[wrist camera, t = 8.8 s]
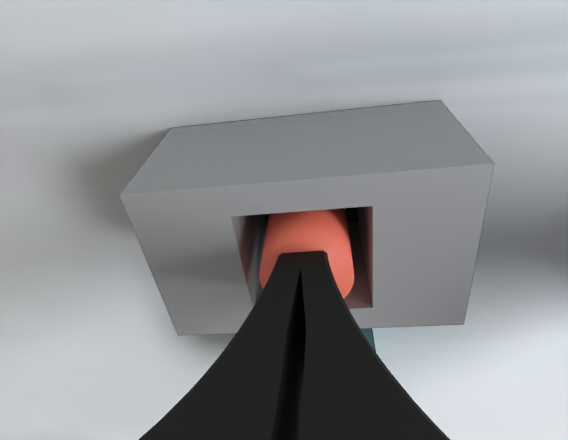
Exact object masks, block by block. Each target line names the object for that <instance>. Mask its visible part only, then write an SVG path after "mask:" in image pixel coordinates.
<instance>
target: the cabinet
mask: <svg viewBox="0 0 568 440" xmlns="http://www.w3.org/2000/svg"><path fill="white" fill-rule="evenodd" d="M493 167H494V163H493V161H492V160H491V159H490V158H489V157H488V155H487V154H486V153H485V152H484V151H483V150H482V148H481V147H480V146H479V145H478V144H477V142H476V141H475V140H474V139H473V138H472V137H471V135H470V134H469V133H468V132H467V131H466V129H465V128H464V127H463V126H462V125H461V123H460V122H459V121H458V120H457V119H456V118H455V116H454V115H453V114H452V113H451V112H450V110H449V109H448V108H447V107H446V106H445V105H444V103H443V102H442V101H441V100H437V101H427V102H417V103H408V104H398V105H388V106H379V107H369V108H359V109H350V110H340V111H330V112H321V113H311V114H302V115H292V116H282V117H273V118H263V119H253V120H244V121H234V122H224V123H215V124H205V125H195V126H186V127H176V128H171V129H170V130H169V131H168V133H167V134H166V135H165V136H164V138H163V139H162V140H161V142H160V143H159V144H158V145H157V147H156V148H155V149H154V151H153V152H152V153H151V155H150V156H149V157H148V158H147V160H146V161H145V162H144V164H143V165H142V166H141V167H140V169H139V170H138V171H137V173H136V174H135V175H134V176H133V178H132V179H131V180H130V182H129V183H128V184H127V185H126V187H125V188H124V189H123V191H122V192H121V193H120V194H119V196H120V198H121V201H122V203H123V205H124V208H125V210H126V213H127V215H128V217H129V220H130V222H131V225H132V227H133V229H134V232H135V234H136V237H137V239H138V241H139V244H140V246H141V248H142V251H143V253H144V256H145V258H146V260H147V263H148V265H149V268H150V270H151V272H152V275H153V277H154V280H155V282H156V284H157V287H158V289H159V291H160V294H161V296H162V299H163V301H164V303H165V306H166V308H167V311H168V313H169V315H170V318H171V320H172V323H173V325H174V327H175V330H176V332H177V334H178V336H179V335H205V334H231V333H237V332H238V330H239V329H240V327H241V326H242V324H243V322H244V321H245V319H246V318H247V316H248V315H249V313H250V311H251V310H252V308H253V307H254V305H255V303H256V301H257V299H258V298H259V296H260V294H261V292H262V290H263V288H262V286H261V282H260V277H259V276H260V267H261V260H262V254H263V248H264V242H265V235H266V229H267V223H266V218H265V214H272V213H286V212H299V211H312V210H326V209H339V208H353V207H358V222H347V223H348V231H349V238H350V246H351V254H352V261H353V269H354V283H353V286H352V289H351V290H350V292H349V294H348V295H347V296H346V297H345V298H344V301H345V303H346V305H347V307H348V308H349V310H350V312H351V314H352V316H353V318H354V319H355V321H356V323H357V324H358V326H359V328H385V327H411V326H437V325H463V324H464V321H465V315H466V310H467V305H468V299H469V294H470V289H471V284H472V278H473V273H474V268H475V262H476V257H477V252H478V247H479V241H480V236H481V231H482V225H483V220H484V215H485V210H486V204H487V199H488V194H489V189H490V183H491V178H492V173H493Z"/></svg>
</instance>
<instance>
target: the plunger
mask: <svg viewBox="0 0 568 440" xmlns="http://www.w3.org/2000/svg"><path fill="white" fill-rule="evenodd" d="M322 250H324V251H325V252H326V253H328V260H329V264H330V268H331V271H332V273H333V276H334V279H335V281H336V284H337V286H338V288H339V290H340V292H341V294H342V297H343V299H344V298H345V297H346V296H347V295H348V294H349V292H350V290H351V289H352V286H353V283H354V269H353V261H352V254H351V246H350V238H349V231H348V223H347V215H346V208H339V209H326V210H312V211H299V212H286V213H272V214H269V216H268V223H267V229H266V235H265V242H264V248H263V254H262V260H261V267H260V276H259V277H260V282H261V286H262V288H263V289H264V287H265V285H266V283H267V281H268V279H269V277H270V275H271V273H272V270H273V268H274V266H275V263H276V261H277V258H278V256H279V255H280V254H281V253H291V252H307V251H322Z"/></svg>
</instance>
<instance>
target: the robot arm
mask: <svg viewBox="0 0 568 440" xmlns="http://www.w3.org/2000/svg"><path fill="white" fill-rule="evenodd" d="M139 440H450V439H449V438H448V437H447V436H446V435H445V434H444V433H443V432H442V431H441V430H440V429H439V428H438V427H437V426H436V425H435V424H434V423H433V421H432V420H431V419H430V418H429V417H428V416H427V415H426V414H425V413H424V412H423V410H422V409H421V408H420V407H419V406H418V405H417V404H416V403H415V402H414V400H413V399H412V398H411V397H410V396H409V394H408V393H407V392H406V391H405V390H404V388H403V387H402V386H401V385H400V383H399V382H398V381H397V380H396V379H395V377H394V376H393V375H392V374H391V373H390V371H389V370H388V369H387V367H386V366H385V365H384V363H383V362H382V361H381V359H380V358H379V356H378V355H377V354H376V352H375V351H374V349H373V348H372V346H371V345H370V343H369V342H368V340H367V339H366V337H365V336H364V334H363V333H362V331H361V329H360V328H359V326H358V324H357V323H356V321H355V319H354V318H353V316H352V314H351V312H350V310H349V308H348V307H347V305H346V303H345V301H344V299H343V297H342V294H341V292H340V290H339V288H338V286H337V284H336V281H335V279H334V276H333V273H332V271H331V268H330V264H329V260H328V253H326V252H325V251H324V250H322V251H307V252H291V253H281V254H280V255H279V256H278V258H277V261H276V263H275V266H274V268H273V270H272V273H271V275H270V277H269V279H268V281H267V283H266V285H265V287H264V289H263V290H262V292H261V294H260V296H259V298H258V299H257V301H256V303H255V305H254V307H253V308H252V310H251V311H250V313H249V315H248V316H247V318H246V319H245V321H244V322H243V324H242V326H241V327H240V329H239V330H238V332H237V333H236V335H235V336H234V337H233V339H232V340H231V342H230V343H229V344H228V346H227V347H226V348H225V350H224V351H223V352H222V354H221V355H220V356H219V357H218V359H217V360H216V361H215V362H214V364H213V365H212V366H211V367H210V368H209V369H208V371H207V372H206V373H205V374H204V375H203V377H202V378H201V379H200V380H199V381H198V382H197V383H196V384H195V386H194V387H193V388H192V389H191V390H190V391H189V392H188V393H187V394H186V395H185V396H184V397H183V398H182V399H181V400H180V401H179V402H178V403H177V404H176V405H175V406H174V407H173V408H172V409H171V410H170V411H169V412H168V413H167V414H166V415H165V416H164V417H163V418H162V419H161V420H160V421H159V422H158V423H157V424H156V425H155V426H153V427H152V428H151V429H150V430H149V431H148V432H147V433H146V434H144V435H143V436H142V437H141V438H140V439H139Z"/></svg>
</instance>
